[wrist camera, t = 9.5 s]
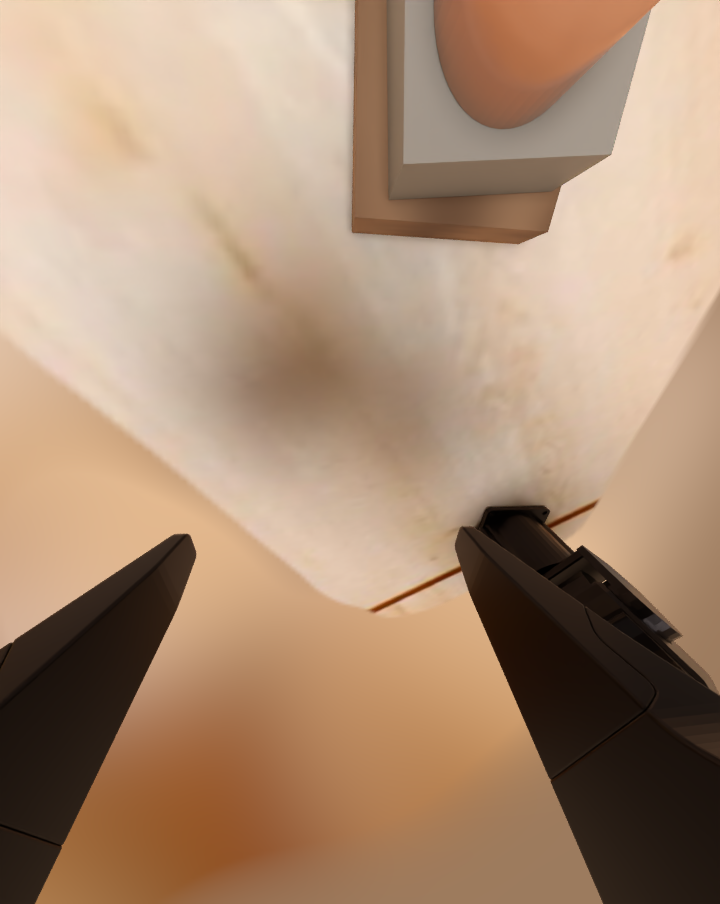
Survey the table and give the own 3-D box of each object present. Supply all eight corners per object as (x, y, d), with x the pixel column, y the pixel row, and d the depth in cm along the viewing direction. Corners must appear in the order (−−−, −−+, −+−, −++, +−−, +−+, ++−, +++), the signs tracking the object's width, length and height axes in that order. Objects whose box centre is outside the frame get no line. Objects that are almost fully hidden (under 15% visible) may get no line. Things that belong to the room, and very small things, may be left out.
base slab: (581, -40, 11) (659, -153, 8) (511, 246, 16) (547, 231, 13) (355, -81, 10) (362, -223, 8) (351, 235, 15) (354, 217, 12)
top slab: (618, -128, 9) (743, -331, 6) (551, 191, 12) (611, 154, 10) (385, -129, 8) (408, -345, 6) (388, 200, 12) (403, 164, 9)
